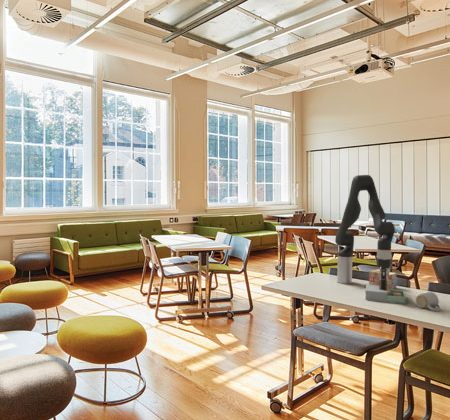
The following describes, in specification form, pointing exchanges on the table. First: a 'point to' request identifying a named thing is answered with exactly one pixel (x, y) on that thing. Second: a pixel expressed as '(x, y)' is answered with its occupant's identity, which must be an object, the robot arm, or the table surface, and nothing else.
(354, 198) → the robot arm
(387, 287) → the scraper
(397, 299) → the tray
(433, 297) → the ceramic mug
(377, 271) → the stack of blocks
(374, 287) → the grey flat block
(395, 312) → the table surface
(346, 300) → the table surface
